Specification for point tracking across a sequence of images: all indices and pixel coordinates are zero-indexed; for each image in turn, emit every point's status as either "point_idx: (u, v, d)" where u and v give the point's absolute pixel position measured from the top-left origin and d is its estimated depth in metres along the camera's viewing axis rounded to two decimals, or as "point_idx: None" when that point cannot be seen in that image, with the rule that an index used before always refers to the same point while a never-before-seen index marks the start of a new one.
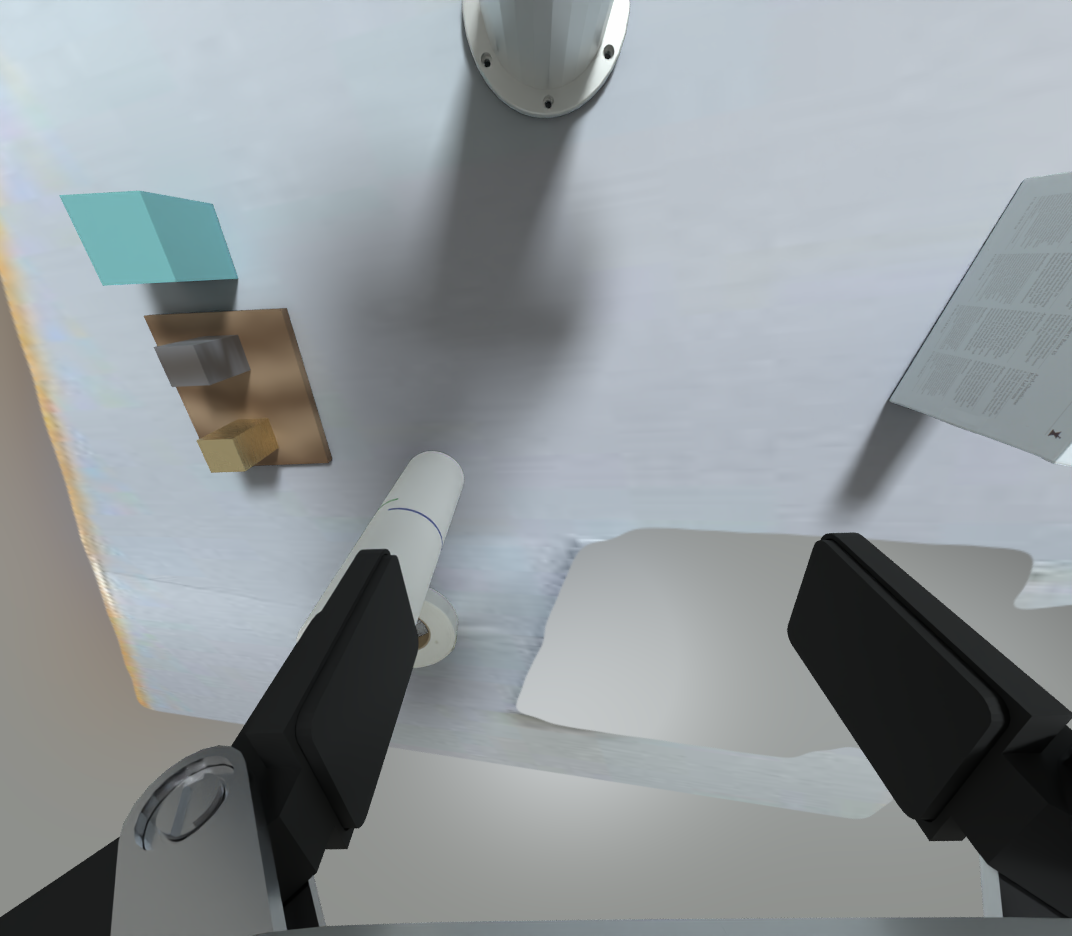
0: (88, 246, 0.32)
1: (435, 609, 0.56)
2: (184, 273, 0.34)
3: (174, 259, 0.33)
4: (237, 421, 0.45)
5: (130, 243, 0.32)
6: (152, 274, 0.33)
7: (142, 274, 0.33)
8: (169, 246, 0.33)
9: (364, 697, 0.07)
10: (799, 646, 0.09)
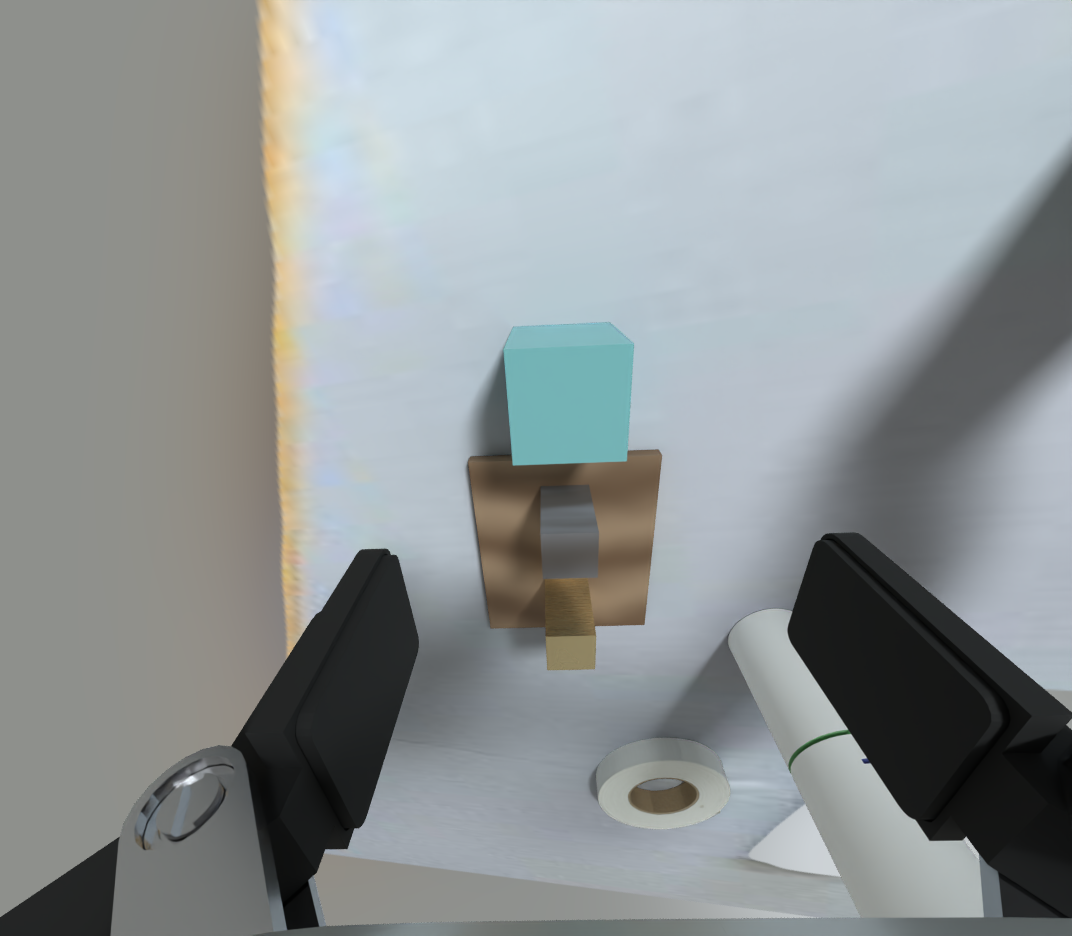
0: (515, 416, 0.21)
1: (718, 777, 0.45)
2: None
3: None
4: (551, 584, 0.34)
5: (582, 412, 0.21)
6: (595, 452, 0.22)
7: (580, 452, 0.22)
8: None
9: (364, 697, 0.07)
10: (799, 646, 0.09)
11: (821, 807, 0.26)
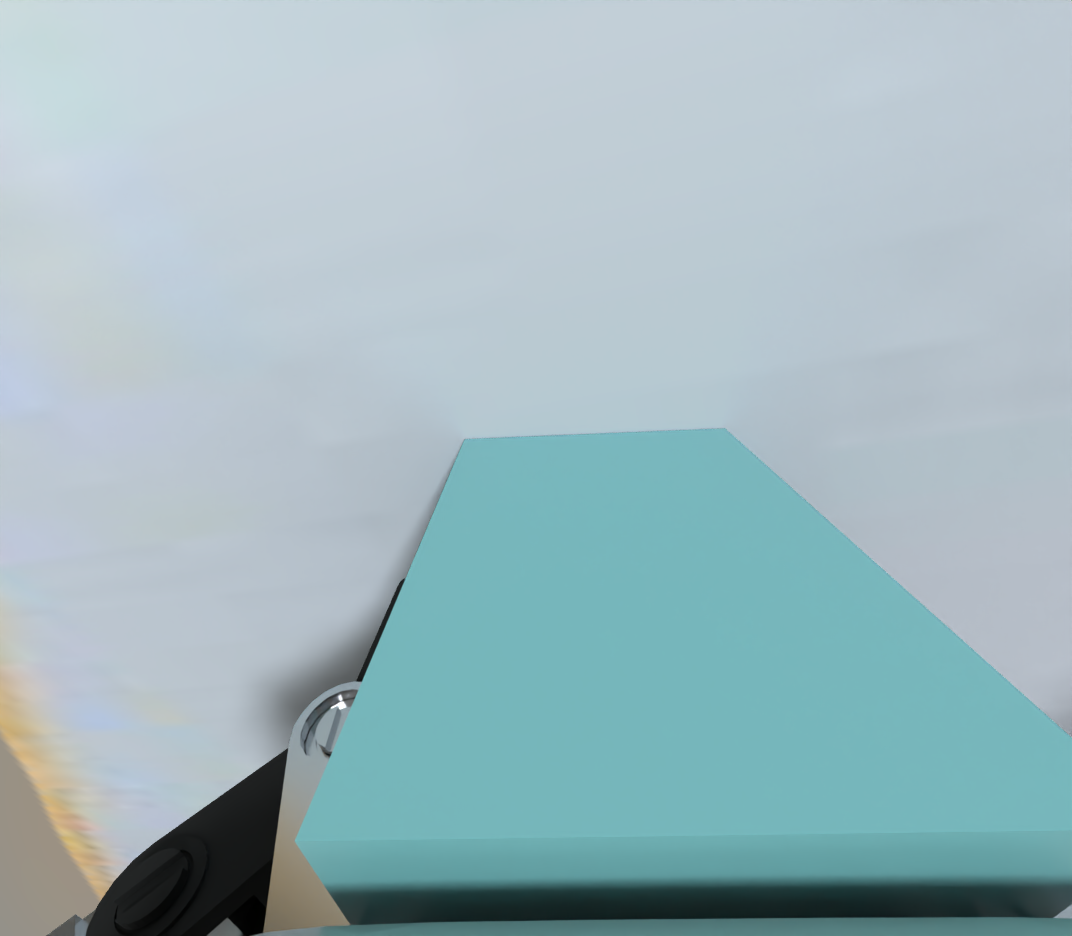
0: None
1: None
2: None
3: None
4: None
5: None
6: None
7: None
8: None
9: None
10: None
11: None
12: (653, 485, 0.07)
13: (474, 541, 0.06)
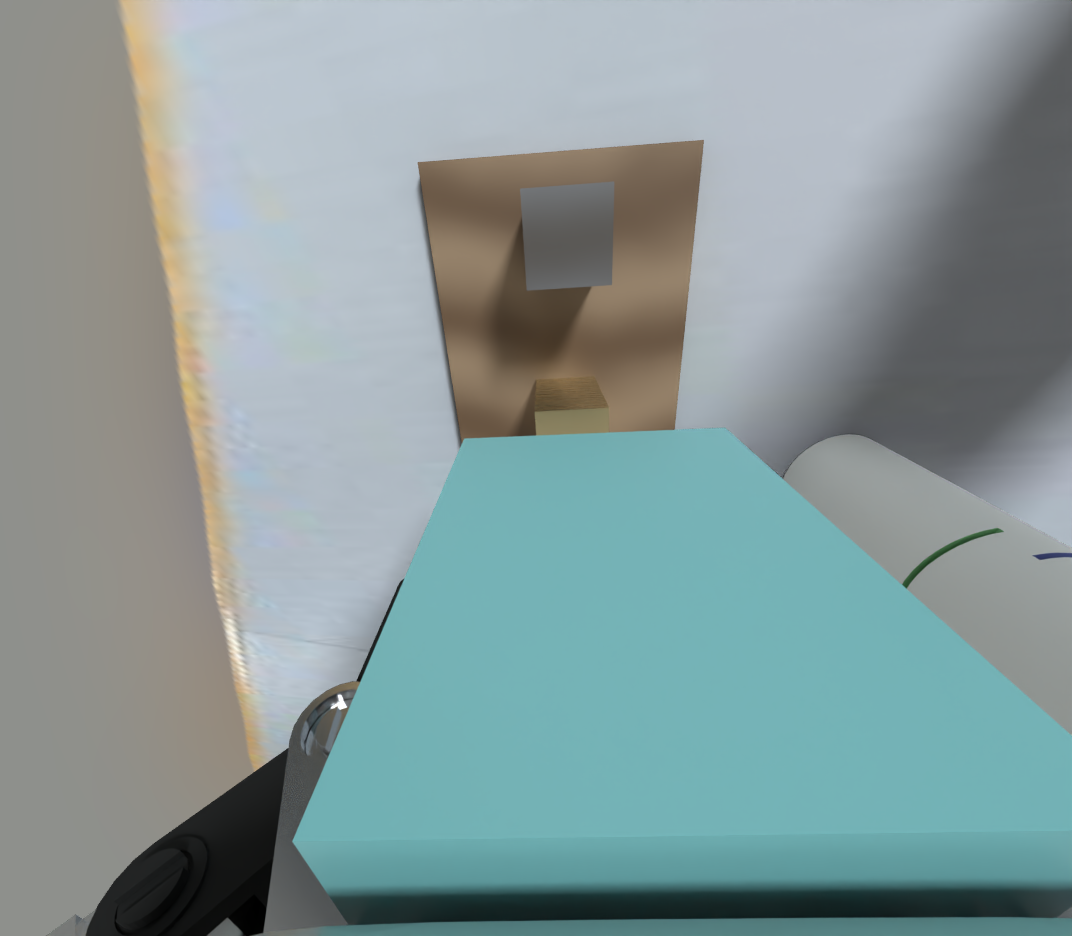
0: None
1: None
2: None
3: None
4: (545, 382, 0.24)
5: None
6: None
7: None
8: None
9: None
10: None
11: (968, 633, 0.16)
12: (653, 484, 0.07)
13: (473, 540, 0.06)
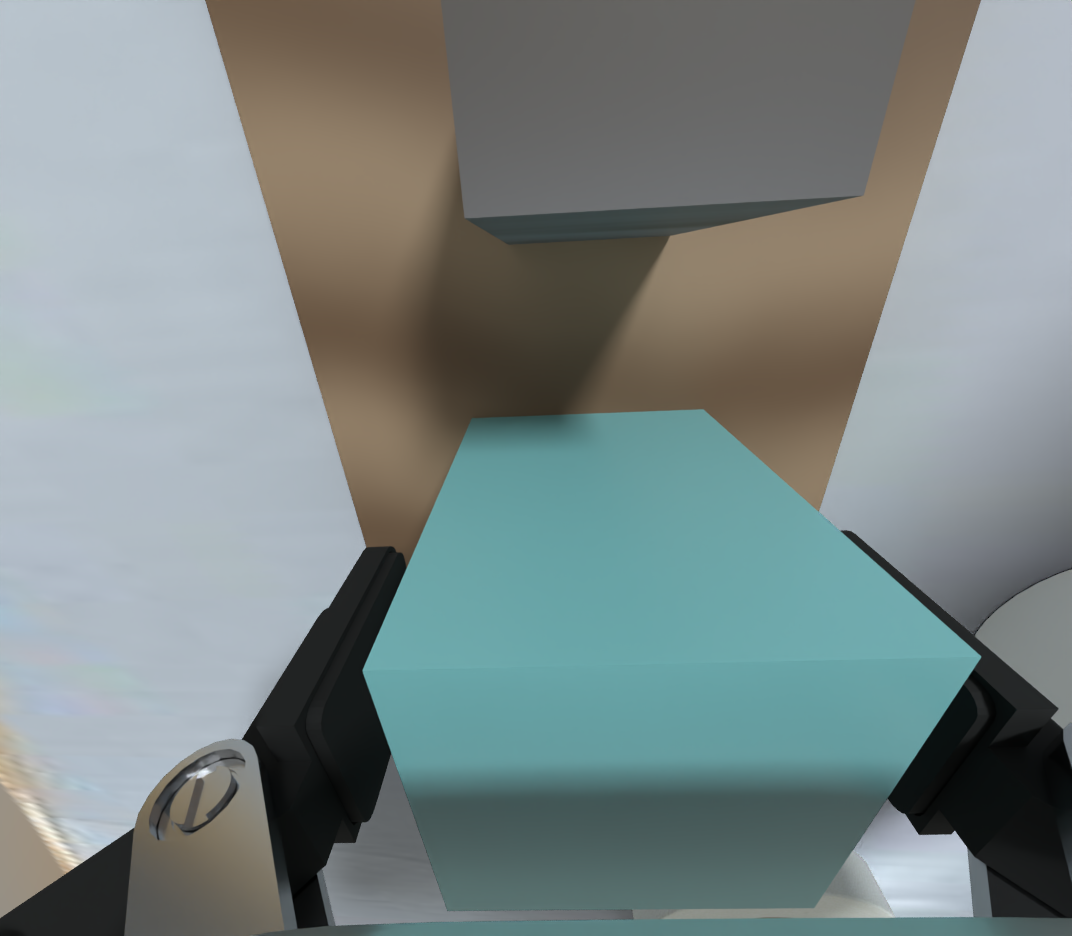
0: (444, 831, 0.06)
1: None
2: None
3: None
4: None
5: (691, 825, 0.06)
6: (717, 894, 0.07)
7: (667, 893, 0.07)
8: None
9: None
10: None
11: None
12: (636, 452, 0.09)
13: (484, 493, 0.07)
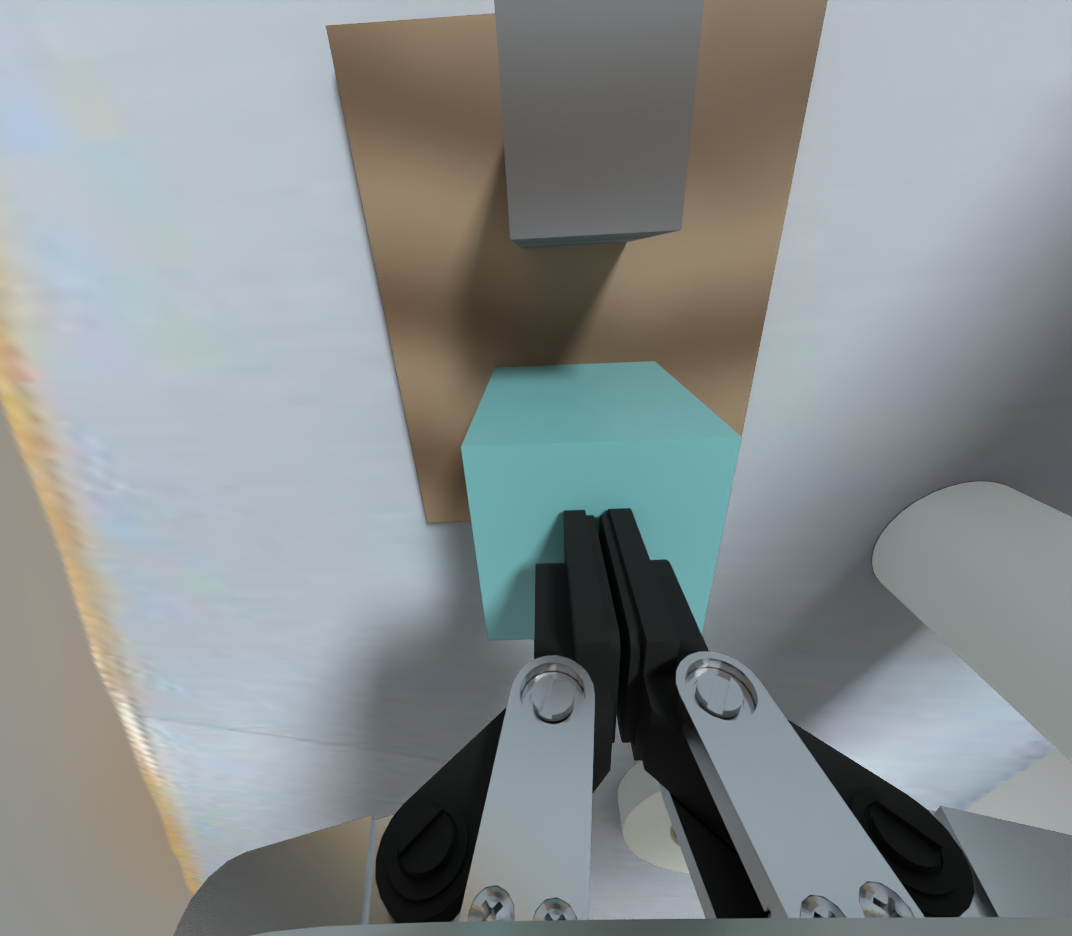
0: (490, 565, 0.11)
1: None
2: None
3: None
4: None
5: None
6: None
7: None
8: None
9: None
10: None
11: None
12: (603, 381, 0.13)
13: (508, 398, 0.12)
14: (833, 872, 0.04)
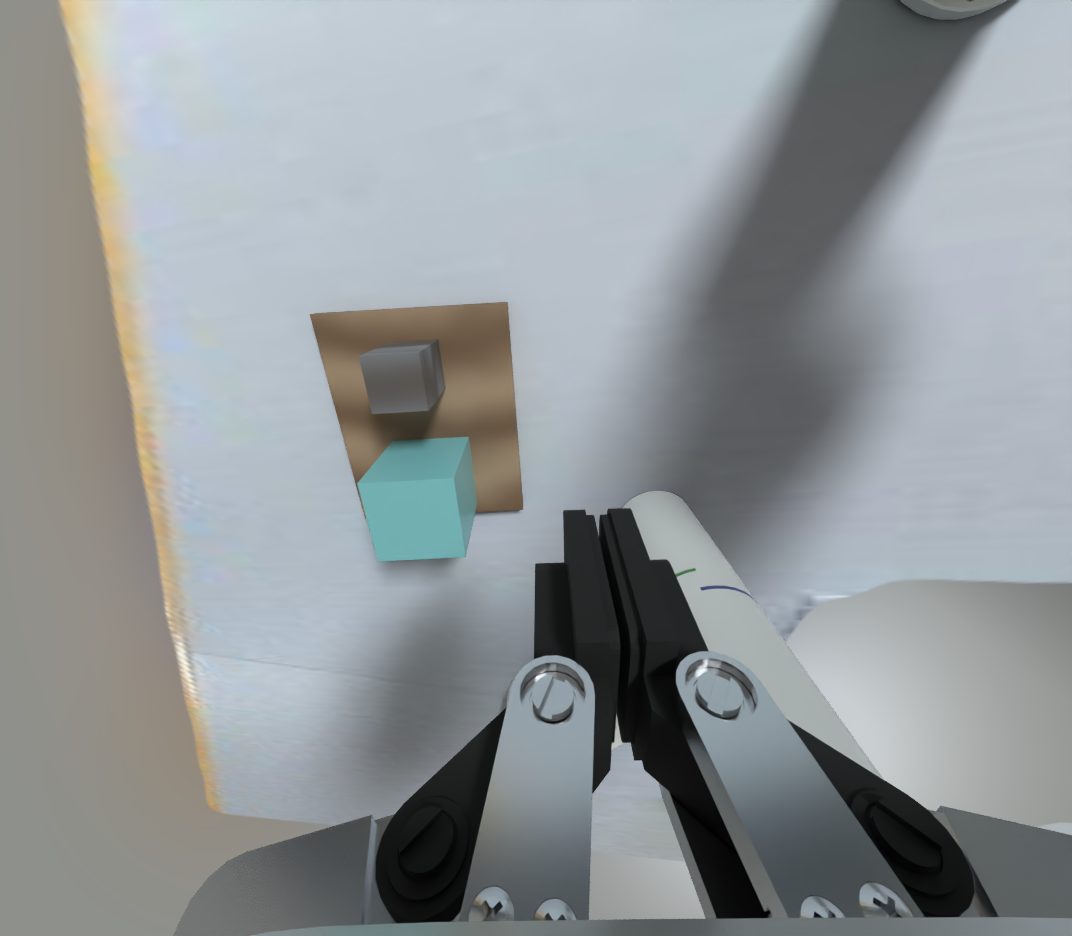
0: (374, 527, 0.27)
1: None
2: (466, 540, 0.29)
3: (463, 531, 0.29)
4: None
5: (424, 524, 0.27)
6: (440, 551, 0.28)
7: (428, 551, 0.28)
8: (462, 520, 0.28)
9: None
10: None
11: None
12: (433, 450, 0.31)
13: (387, 460, 0.29)
14: (834, 873, 0.04)
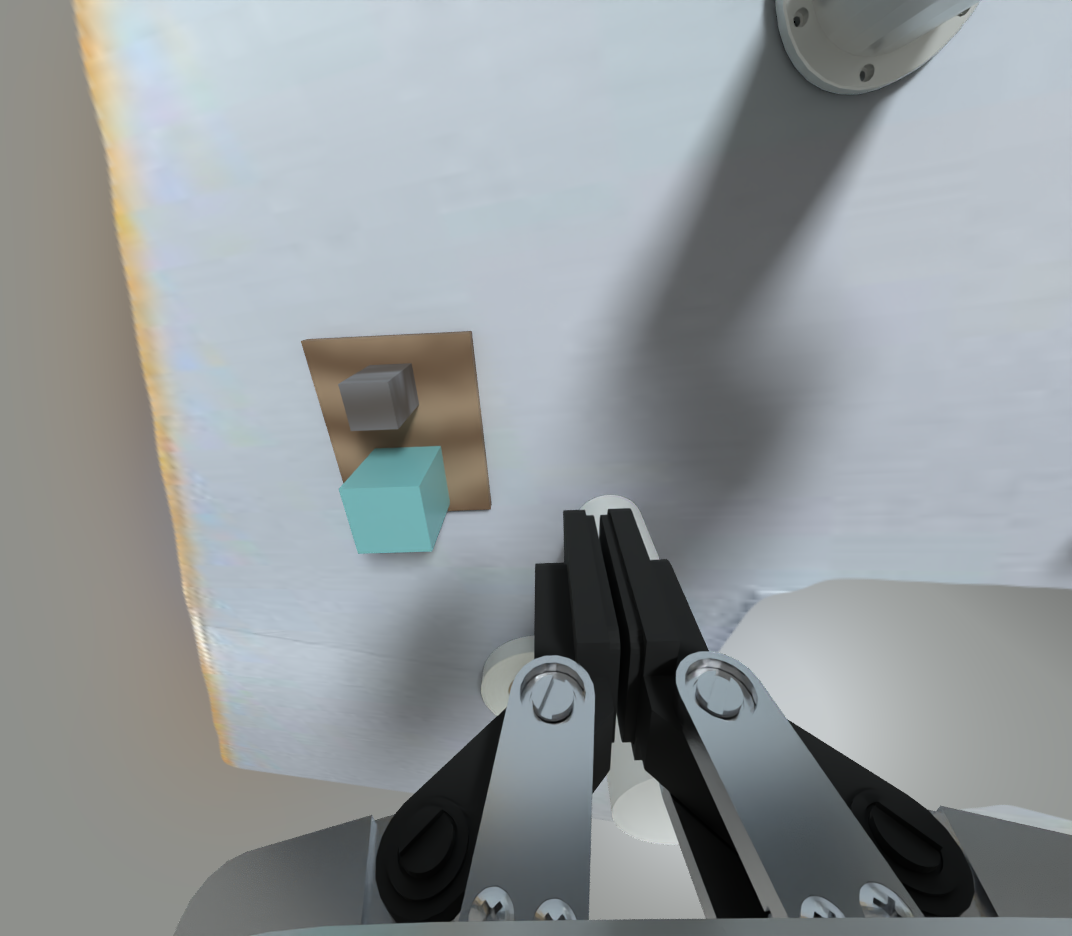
0: (354, 525, 0.32)
1: None
2: (434, 536, 0.34)
3: (430, 530, 0.33)
4: None
5: (396, 523, 0.32)
6: (410, 546, 0.33)
7: (400, 546, 0.33)
8: (429, 520, 0.33)
9: None
10: None
11: None
12: (408, 458, 0.35)
13: (366, 467, 0.34)
14: (833, 871, 0.04)
